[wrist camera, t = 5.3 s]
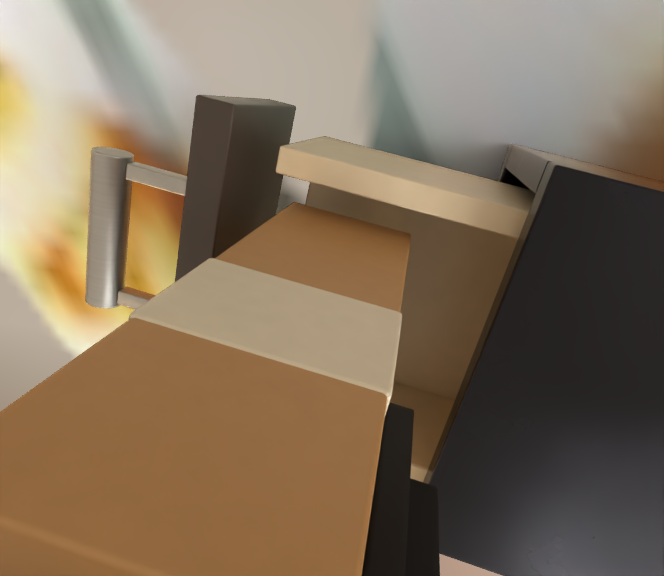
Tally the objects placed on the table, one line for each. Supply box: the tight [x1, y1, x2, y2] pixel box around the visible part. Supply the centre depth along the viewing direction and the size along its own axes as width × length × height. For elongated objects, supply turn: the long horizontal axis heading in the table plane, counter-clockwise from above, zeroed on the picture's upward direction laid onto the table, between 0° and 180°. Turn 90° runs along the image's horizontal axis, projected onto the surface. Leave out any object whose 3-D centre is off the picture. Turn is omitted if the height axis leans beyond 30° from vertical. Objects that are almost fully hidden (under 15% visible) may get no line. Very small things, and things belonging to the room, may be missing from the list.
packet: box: [0, 202, 411, 576], centre depth 11 cm, size 4×6×13 cm
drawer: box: [85, 95, 536, 482], centre depth 18 cm, size 18×12×6 cm, turn 77°
